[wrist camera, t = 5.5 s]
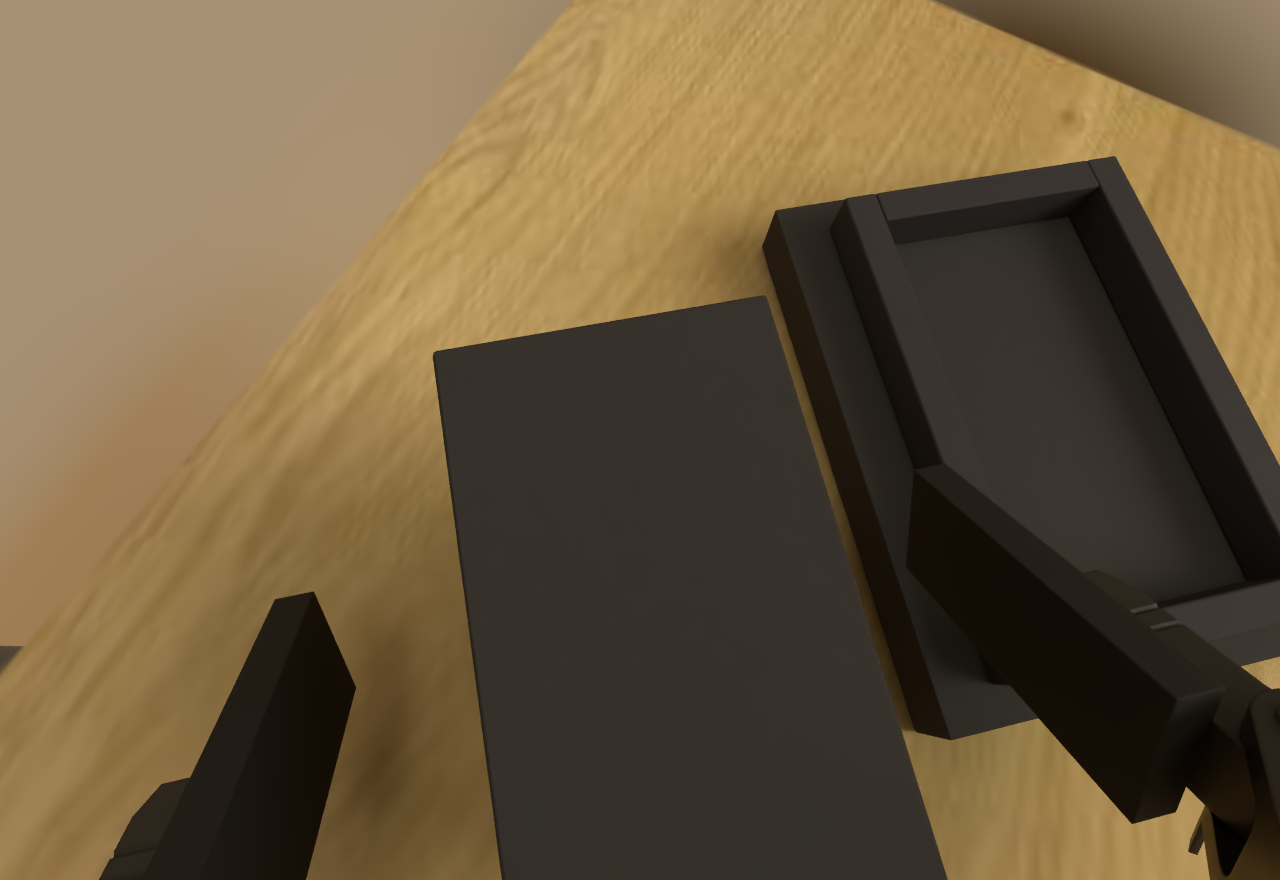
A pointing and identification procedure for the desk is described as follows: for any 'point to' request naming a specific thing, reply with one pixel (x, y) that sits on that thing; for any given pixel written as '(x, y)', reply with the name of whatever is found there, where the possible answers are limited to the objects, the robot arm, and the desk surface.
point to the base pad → (1028, 407)
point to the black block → (668, 613)
